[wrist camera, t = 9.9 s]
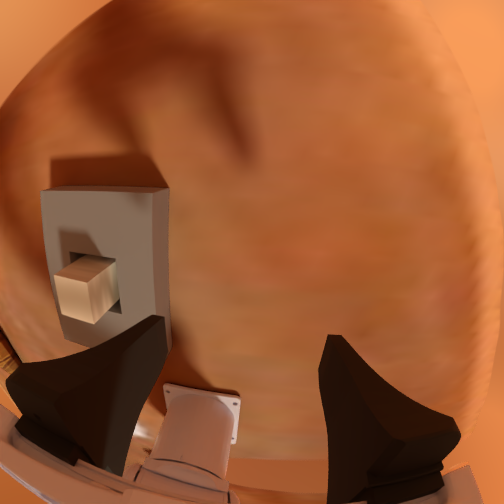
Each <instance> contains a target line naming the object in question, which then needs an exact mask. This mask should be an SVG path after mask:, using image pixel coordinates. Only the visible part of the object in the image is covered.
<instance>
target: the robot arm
mask: <svg viewBox="0 0 504 504" xmlns="http://www.w3.org/2000/svg"><path fill="white" fill-rule="evenodd" d="M167 354H168V346H167V336H166V327H165V317H164V316H159V315H153V314H152V315H150V316H148V317H147V318H145V319H143V320H142V321H140V322H138V323H137V324H135V325H134V326H132V327H130V328H129V329H127V330H125V331H124V332H122V333H120V334H118V335H117V336H115V337H113V338H111V339H109V340H107V341H105V342H103V343H101V344H99V345H97V346H95V347H92V348H90V349H88V350H85V351H82V352H79V353H76V354H73V355H70V356H66V357H63V358H58V359H53V360H48V361H41V362H31V363H21V364H20V365H19V366H18V367H17V368H16V370H15V371H14V372H13V373H12V374H11V375H10V376H9V377H8V378H7V379H6V387H7V390H8V392H9V394H10V396H11V398H12V399H13V401H14V402H15V404H16V406H17V407H18V409H19V410H20V412H21V413H22V414H23V415H22V416H21V418H20V419H19V418H18V417H17V416H16V415H14V414H13V413H12V412H11V411H9V410H8V409H7V408H5V407H4V406H3V405H1V404H0V467H1V468H2V469H3V470H4V471H6V472H7V473H8V474H9V475H11V476H12V477H13V478H14V479H15V480H17V481H18V482H19V483H21V484H22V485H23V486H25V487H26V488H27V489H29V490H30V491H31V492H33V493H34V494H36V495H37V496H38V497H40V498H41V499H43V500H44V501H46V502H48V503H49V504H240V500H239V498H238V497H237V496H236V494H235V492H233V491H228V487H229V481H225V476H226V470H227V464H228V458H229V452H230V446H231V444H235V443H236V439H237V430H238V421H239V412H240V403H241V398H240V397H239V396H237V395H229V394H223V393H216V392H210V391H204V390H198V389H193V388H188V387H183V386H178V385H173V384H169V383H165V384H164V386H163V390H164V396H165V402H166V407H167V413H166V416H165V418H164V421H163V423H162V426H161V428H160V431H159V434H158V436H157V439H156V441H155V444H154V446H153V449H152V452H151V454H150V457H149V458H148V457H146V459H145V461H144V464H143V466H142V465H141V464H139V463H135V464H133V465H130V466H128V467H127V468H126V470H125V472H124V473H123V471H124V466H125V461H126V457H127V453H128V449H129V446H130V442H131V439H132V436H133V432H134V429H135V426H136V423H137V420H138V418H139V415H140V412H141V410H142V408H143V405H144V403H145V401H146V399H147V397H148V396H149V394H150V392H151V390H152V388H153V386H154V384H155V382H156V380H157V378H158V376H159V374H160V372H161V370H162V368H163V365H164V363H165V360H166V357H167ZM318 373H319V389H320V394H321V400H322V405H323V410H324V415H325V421H326V426H327V434H328V459H329V471H328V473H329V474H328V494H327V504H483V501H482V499H481V495H480V492H479V489H478V487H477V484H476V481H475V478H474V476H473V473H472V471H471V468H470V466H469V465H467V466H465V467H462V468H460V469H457V470H455V471H452V472H449V473H447V474H446V475H444V476H442V475H441V472H440V471H441V470H443V467H444V466H443V464H442V460H443V459H444V458H445V457H446V456H447V455H448V454H449V453H450V452H451V451H452V450H453V449H454V448H455V447H456V445H457V444H458V442H459V440H460V438H461V433H460V431H459V429H458V427H457V425H456V423H455V421H454V419H453V418H452V417H450V416H447V415H444V414H441V413H439V412H436V411H434V410H431V409H429V408H427V407H425V406H423V405H421V404H419V403H417V402H415V401H414V400H412V399H410V398H409V397H407V396H406V395H404V394H402V393H401V392H399V391H398V390H397V389H395V388H394V387H393V386H391V385H390V384H389V383H388V382H386V381H385V380H384V379H383V378H382V377H380V376H379V375H378V374H377V373H376V372H375V371H374V370H373V369H372V368H371V367H370V366H369V365H368V364H367V363H366V362H365V361H364V360H363V359H362V358H361V357H360V356H359V355H358V353H357V352H356V351H355V350H354V349H353V348H352V347H351V345H350V344H349V343H348V342H347V341H346V340H345V339H344V338H343V336H342V335H329V334H328V336H327V340H326V343H325V347H324V351H323V354H322V358H321V361H320V365H319V368H318ZM234 402H236V403H234Z"/></svg>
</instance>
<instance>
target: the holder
mask: <svg viewBox="0 0 504 504" xmlns="http://www.w3.org/2000/svg"><path fill="white" fill-rule="evenodd" d="M40 194H41V213H42V225H43V235H44V243H45V251H46V258H47V264H48V270H49V276H50V281H51V286H52V291H53V295H54V300H55V304H56V308H57V312H58V316H59V320H60V324H61V327H62V331H63V334H64V337H65V339H66V340H69V341H72V342H75V343H78V344H80V345H83V346H86V347H89V348H92V347H95V346H97V345H99V344H101V343H103V342H105V341H107V340H109V339H111V338H113V337H115V336H117V335H118V334H120V333H122V332H124V331H125V330H127V329H129V328H130V327H132V326H134V325H135V324H137V323H138V322H140V321H142V320H143V319H145V318H147V317H148V316H150V315H152V314H153V315H159V316H164V317H165V327H166V336H167V346H168V354H169V352H170V350H171V348H172V335H171V320H170V301H169V272H168V213H169V188H158V187H134V186H59V187H55V188H50V189H46V190H42V191H40ZM86 254H89V255H96V256H102V257H109V258H115V259H116V270H117V280H118V288H119V297H120V299H119V300H118V301H117V302H116V303H115V304H114V305H113V306H112V307H111V308H110V309H109V310H108V311H107V312H106V313H105V314H104V315H103V316H102V317H101V318H100V319H99V320H98V321H97V322H96V323H95V324H91V323H88V322H85V321H82V320H78V319H75V318H72V317H69V316H66V315H63V314H62V313H61V309H60V304H59V300H58V295H57V290H56V285H55V280H54V274H56V273H57V272H59V271H60V270H62V269H63V268H65V267H67V266H68V265H70V264H71V263H73V262H75V261H76V260H78V259H79V258H81V257H83V256H84V255H86ZM168 354H167V356H168ZM166 358H167V357H166Z"/></svg>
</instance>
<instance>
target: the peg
mask: <svg viewBox="0 0 504 504" xmlns="http://www.w3.org/2000/svg"><path fill="white" fill-rule="evenodd" d="M54 280H55V285H56V290H57V295H58V300H59V304H60V309H61V313H62V314H63V315H66V316H69V317H72V318H75V319H78V320H82V321H85V322H88V323H91V324H95V323H96V322H97V321H98V320H99V319H100V318H101V317H102V316H103V315H104V314H105V313H106V312H107V311H108V310H109V309H110V308H111V307H112V306H113V305H114V304H115V303H116V302H117V301H118V300H119V299H120V297H119V288H118V280H117V270H116V259H115V258H109V257H102V256H96V255H89V254H86V255H84V256H83V257H81V258H79V259H78V260H76V261H75V262H73V263H71V264H70V265H68V266H67V267H65V268H63V269H62V270H60V271H59V272H57V273H56V274H54Z"/></svg>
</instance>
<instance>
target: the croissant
mask: <svg viewBox="0 0 504 504" xmlns="http://www.w3.org/2000/svg"><path fill="white" fill-rule="evenodd" d="M21 363H22V362H21V361H20V359H19V358H18V356H17V355H16V353H15V352H14V350H13V349H12V347H11V345H10V343H9V342H8V340H7V338H6V337H5V336H4V335H3V333H2V332H1V331H0V367H2V368H3V369H4V370H5V371H6V372H8V373H9V374H10V375H11V374H12V373H13V372H14V371H15V370H16V368H17V367H18V366H19V365H20V364H21Z"/></svg>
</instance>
